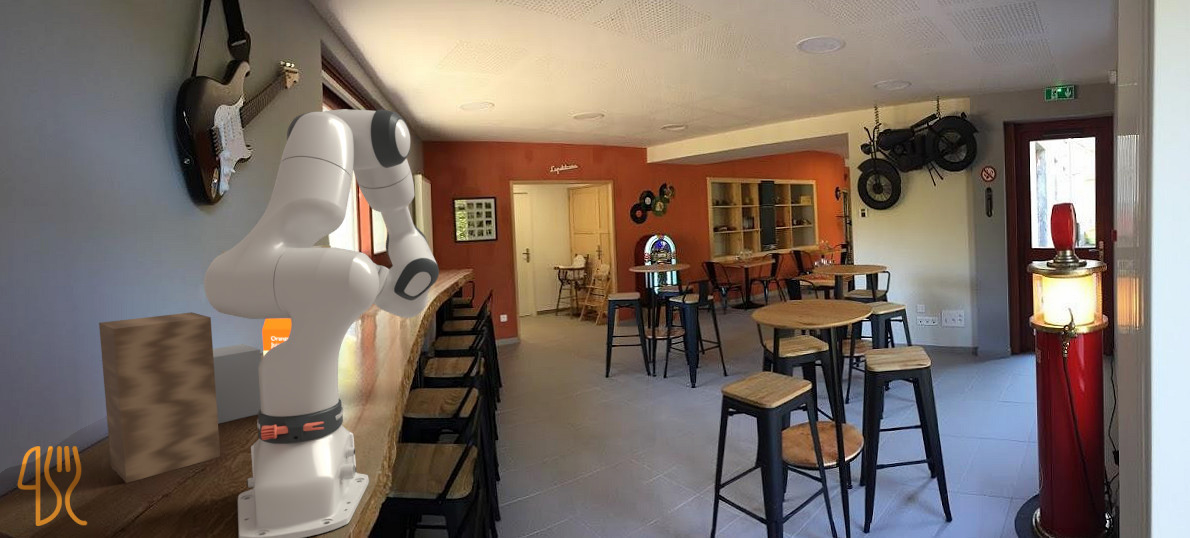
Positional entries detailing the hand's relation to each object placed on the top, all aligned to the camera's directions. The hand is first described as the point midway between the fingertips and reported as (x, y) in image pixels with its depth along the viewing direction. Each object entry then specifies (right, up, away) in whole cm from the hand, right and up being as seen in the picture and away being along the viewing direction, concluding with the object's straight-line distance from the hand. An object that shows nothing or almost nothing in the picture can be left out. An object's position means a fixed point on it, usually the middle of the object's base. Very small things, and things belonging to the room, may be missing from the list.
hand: (309, 252), depth 129 cm
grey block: (-21, -36, +7) cm, 42 cm away
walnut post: (-16, -38, -20) cm, 46 cm away
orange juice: (-24, -34, +37) cm, 56 cm away
